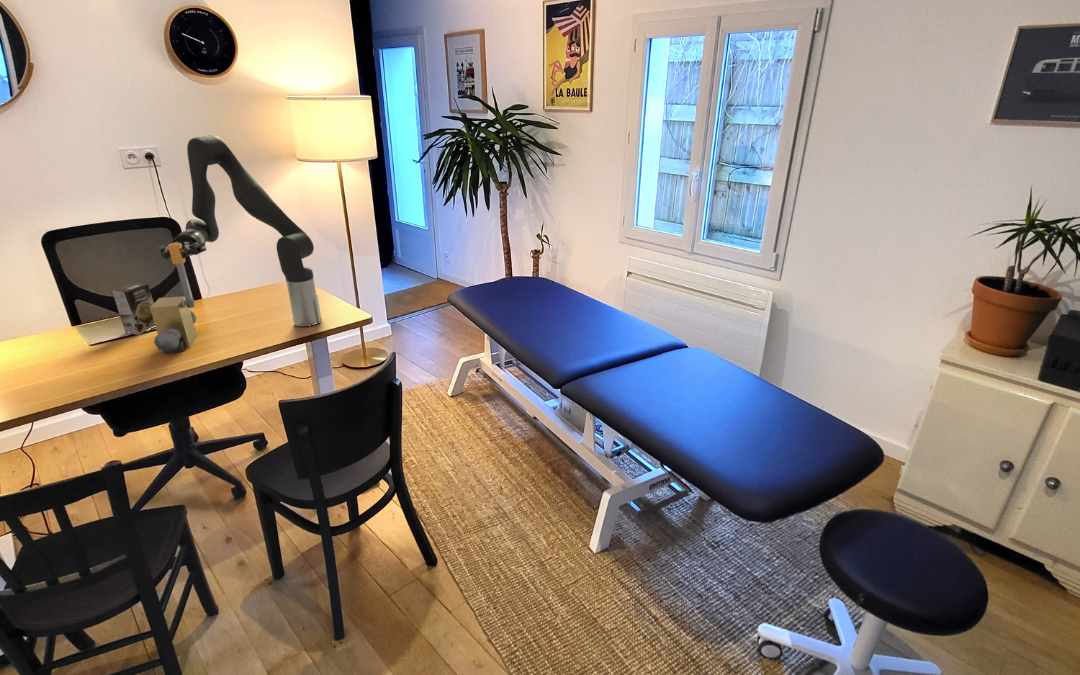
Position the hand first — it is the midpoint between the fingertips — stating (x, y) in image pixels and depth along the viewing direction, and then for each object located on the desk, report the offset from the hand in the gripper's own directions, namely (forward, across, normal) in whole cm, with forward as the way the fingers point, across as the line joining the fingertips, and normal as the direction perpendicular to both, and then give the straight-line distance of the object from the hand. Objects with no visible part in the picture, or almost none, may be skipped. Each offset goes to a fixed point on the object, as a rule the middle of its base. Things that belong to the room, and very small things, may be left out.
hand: (174, 255), depth 175 cm
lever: (-3, 0, +19) cm, 19 cm away
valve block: (-3, -6, +31) cm, 32 cm away
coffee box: (-19, -22, +31) cm, 43 cm away
